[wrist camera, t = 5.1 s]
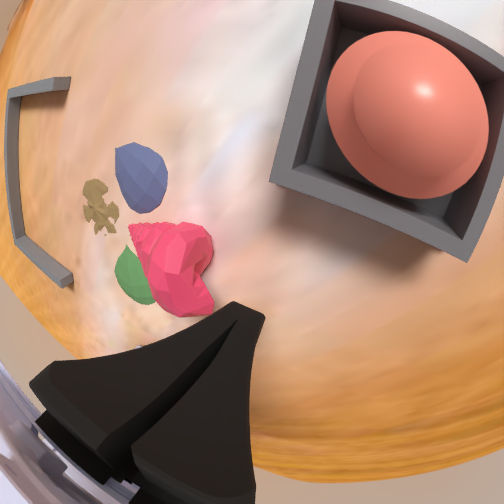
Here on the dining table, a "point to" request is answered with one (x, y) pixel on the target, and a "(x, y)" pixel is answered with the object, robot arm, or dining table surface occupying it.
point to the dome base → (337, 165)
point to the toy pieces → (153, 238)
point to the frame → (12, 178)
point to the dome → (407, 114)
